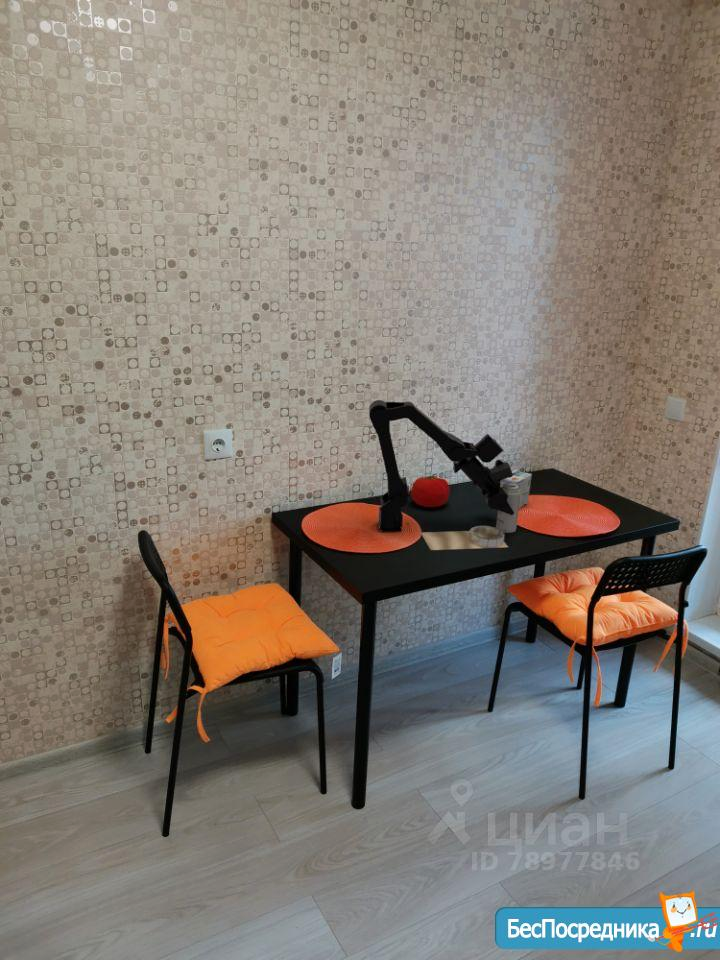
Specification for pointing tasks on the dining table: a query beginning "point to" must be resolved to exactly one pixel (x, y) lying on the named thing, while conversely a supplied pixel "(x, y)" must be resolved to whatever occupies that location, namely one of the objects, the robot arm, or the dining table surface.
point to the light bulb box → (520, 484)
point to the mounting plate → (452, 540)
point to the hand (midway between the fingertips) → (510, 508)
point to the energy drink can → (510, 521)
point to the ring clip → (486, 541)
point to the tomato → (430, 491)
